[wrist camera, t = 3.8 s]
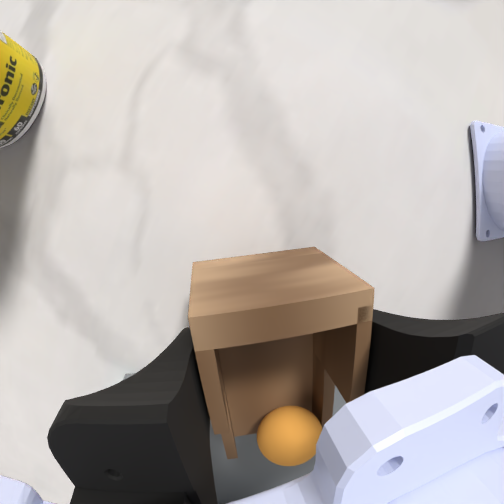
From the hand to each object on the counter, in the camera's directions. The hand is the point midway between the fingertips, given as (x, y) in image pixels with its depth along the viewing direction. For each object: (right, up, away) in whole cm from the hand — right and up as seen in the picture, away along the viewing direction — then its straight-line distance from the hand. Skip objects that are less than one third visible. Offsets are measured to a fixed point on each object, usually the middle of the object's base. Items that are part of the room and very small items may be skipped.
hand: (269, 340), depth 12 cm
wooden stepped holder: (0, -1, +2) cm, 2 cm away
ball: (+1, -5, +1) cm, 5 cm away
